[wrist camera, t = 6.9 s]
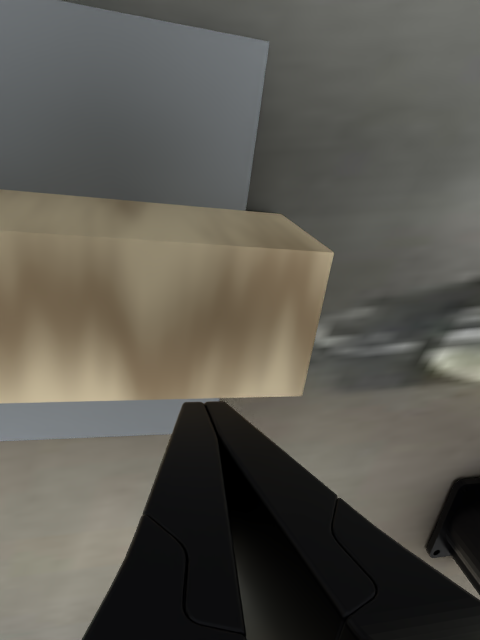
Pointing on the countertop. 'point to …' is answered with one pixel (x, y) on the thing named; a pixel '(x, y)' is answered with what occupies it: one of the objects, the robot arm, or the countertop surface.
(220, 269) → the block
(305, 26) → the countertop surface
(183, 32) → the mat
